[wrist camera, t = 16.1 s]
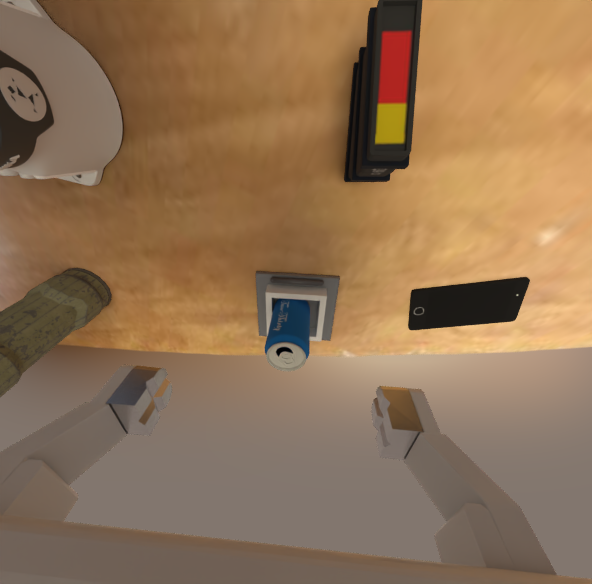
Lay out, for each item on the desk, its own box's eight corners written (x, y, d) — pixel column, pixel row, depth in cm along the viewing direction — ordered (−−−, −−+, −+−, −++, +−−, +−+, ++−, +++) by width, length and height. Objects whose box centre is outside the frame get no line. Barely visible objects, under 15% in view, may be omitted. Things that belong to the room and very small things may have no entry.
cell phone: (410, 288, 43) (412, 291, 42) (527, 275, 41) (531, 278, 40) (407, 327, 48) (409, 330, 47) (512, 318, 45) (515, 321, 44)
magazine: (341, 203, 34) (365, 159, 19) (345, 97, 33) (375, -38, 18) (369, 203, 34) (414, 160, 19) (375, 97, 32) (430, -41, 18)
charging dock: (259, 332, 50) (256, 344, 48) (256, 271, 43) (252, 280, 40) (329, 337, 50) (331, 349, 47) (339, 276, 42) (341, 286, 39)
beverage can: (303, 288, 43) (299, 336, 33) (314, 316, 46) (315, 368, 36) (268, 297, 45) (255, 346, 34) (282, 324, 48) (274, 376, 38)
